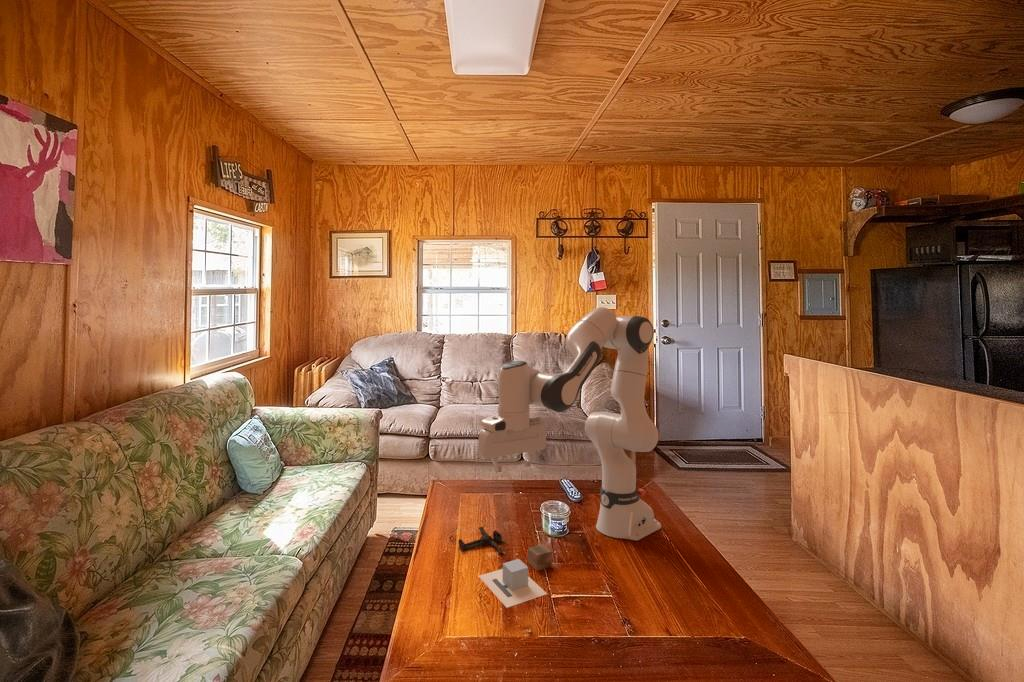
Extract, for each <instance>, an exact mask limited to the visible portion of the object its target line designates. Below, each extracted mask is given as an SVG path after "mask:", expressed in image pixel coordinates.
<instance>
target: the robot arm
mask: <svg viewBox="0 0 1024 682" xmlns="http://www.w3.org/2000/svg"><path fill="white" fill-rule="evenodd" d="M565 338H566V339H565V342H566V347H567V350H568V351H569V353H570V354H571V355H572V356H573V357H574V358H575V359H574V360H573V361H572V363H571V364H570V365H569V367H568V368H567V370H566V371H564V372H560V373H551V372H545V371H540V370H537V369H536V368H534V367H532V366H530V365H529V364H528V362H527V361H524V360H514V361H511V360H510V361H508V362H505V363H504V364H502V365H501V367H500V370H499V374H498V378H497V379H498V381H497V395H498V400H499V402H498V406H497V412H495V413H493V414H492V415H490V416H487V417H486V418H483V419H482V420H481V422H480V426H481V428H482V429H481V430H480V433H479V435H478V443H477V448H478V449H477V453H478V454H479V455H480V456H481V457H482V458H483V459H490V460H491V463H492V464H493V470H494V472H495V473H500V472H503V470H502V469H503V465H501V464H500V463H498V461H499V458H500V457H505V456H506V457H507V456H511V455H518V454H524V453H527V456H526V459H523V467H525V468H531V467H532V461H533V459H534V457H535V455H536V452H537V451H543V450H545V449H546V446H547V435H546V421H545V419H544V418H542V417H540V416H537V417H530V416H531V415H530V414H531V413H530V412H531V410H530V406H531V405H535V406H538V407H541V408H547V409H549V410H551V411H554V412H557V413H564V412H566V411H568V410H570V408H571V407H573V405H574V404H575V402H576V400H577V397H578V396H579V393H580V391H581V389H582V388H583V386H584V385H585V383H586V381H587V380H588V378H589V377H590V375H591V374H592V372H593V370H594V369H595V368H596V366H597V365H598V363H599V361H600V358H601V357H602V356H601V355H602V349H612V350H616V351H617V357H616V360H615V364H614V369H613V373H612V379H611V380H612V381H611V386H610V395H611V397H612V398H613V400H614V401H615V402H617V403H618V404H619V406H620V413H615V412H610V411H593V412H591V413H590V414H589V415H588V416H587V418H586V420H585V422H584V432H585V434H586V436H587V437H588V439H589V440H590V441H591V442H592V443H593V444H594V446H595V448H596V451H597V453H598V455H599V460H600V462H601V485H600V493H599V494H600V496H599V498H600V505H599V512H598V515H597V522H596V525H595V528H596V530H597V531H598V532H599V533H600V534H603V535H604V536H607V537H611V538H614V539H626V540H631V541H640V540H641V539H643V538H645V537H647V536H649V535H651V534H653V533H654V532H656V531H659V530H661V529H662V524H661V523H660V522H659V521H658V520H657V519H655V514H654V510H653V508H652V506H650V505H649V504H647V502H645V501H643V499H641V498H640V496H642V497H643V496H645V494H646V490H645V489H642V488H640V487H639V488H638V487H637V485H636V483H637V468H636V464H635V463H634V462H633V460H631V458H630V457H628V455H627V454H626V452H625V450H628V451H632V452H636V453H637V452H641V453H647V452H648V453H649V452H651V451H652V450H654V449H655V447H656V446H657V445H658V441H659V431H658V427H657V426H656V424H655V423H654V422H653V421H652V419H651V418H650V416H649V414H648V412H647V409H646V406H645V393H646V385H647V378H648V372H649V350H648V348H649V347H650V345H651V344H652V341H653V338H654V326H653V323H652V322H651V320H649V318H647V317H644V316H639V315H634V316H632V315H619V316H616V315H615V313H614V312H613V311H612V310H611V309H609V308H607V307H602V306H601V307H600V306H598V307H597V308H594V309H592V310H590V311H589V312H588V313H586V314H585V315H583V316H582V317H581V318H580V319H579V320H578V321H577V322H575V324H574V325H573V326H572V327H571V328H570V329H569V330H568V332H567V334H566V337H565Z"/></svg>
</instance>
